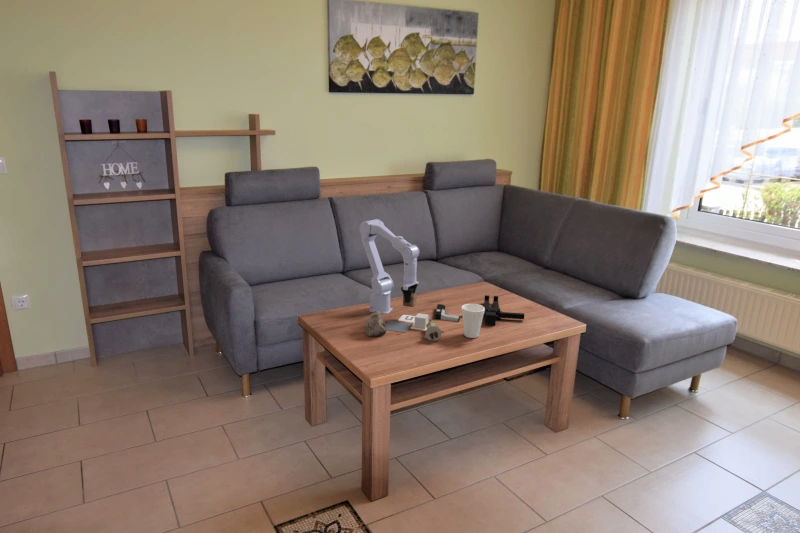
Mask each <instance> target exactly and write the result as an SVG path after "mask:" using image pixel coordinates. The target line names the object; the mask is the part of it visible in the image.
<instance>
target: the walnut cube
mask: <svg viewBox="0 0 800 533" xmlns="http://www.w3.org/2000/svg"><path fill="white" fill-rule="evenodd" d="M417 296H418V293H416V292H415V293H412V295H411V300H410V303H406V302H405V299H404V295H403V294H402V307H409V308H414V307H415V306H416V305H417V299H418V297H417Z"/></svg>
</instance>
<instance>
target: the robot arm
mask: <svg viewBox="0 0 800 533" xmlns="http://www.w3.org/2000/svg"><path fill="white" fill-rule="evenodd" d="M358 230H359V233H360V236H361V243H362V245H363V248H364V250H365V253H366V258H367V259H368V263H369V267H370V269H371V272H372V275H373V276H372V278H371V280H370V282H371V289H372V292H371V293H370V296H369V312H371V313H374V311H375V310H378V311H380V313H381V314H384V315H388V314H390V312H391V311H393V307H391V293H392V290H393V289H394V287H395V284H394V283H395V282H394V281H393V279H392V278H391V276H390V274H389V273H387V272H385V269H384V266H383V263H382V260H381V258H380V257H381V256H380V254H379V251H378V249H377V245H376V242H375V239H376V237H377V236H378V235H380V236H382V237H383V238H385V239H386V240H388V241H389V242H391V246H392V247H393V248H394V249H395V250H396V251H398V252H399V253H400V254H401V256H402V259H403V281H402V284H403V285H402V286H401V287H400V290H401V292H402V296H403V295H404V299H405V302H406V303H410V300H411V295H412V293H416V290H417V288H418V286H419V281H417V267H418V257H419V256H420V254H421V252H420V251H421V250H420V248H419V246H418V245H416V244H412V243H410V242H408V241H407V240H405V239H404V236H400V235H395V234H394V233H393V232H392V231H391V230H390V229H389V228H388V227H387V226H385V224H384V221H382V220H381V219H379V218H375V219H371V220H366V221H365V220H364V221H362V222H361V223H360V224H359V228H358Z"/></svg>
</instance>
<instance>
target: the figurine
mask: <svg viewBox="0 0 800 533" xmlns="http://www.w3.org/2000/svg"><path fill="white" fill-rule="evenodd" d="M437 324H438V323H437V321H436V320H435V321H434V320H433V321H432V318H431V316H429V318H428V323H427V325H426V327H427V330H426V331H425V335H424V337H423V338H424V339H427V340H428V341H439V340H440V339H441V338H442V334H443V333H445V331H444V330H443V329H441V328H440V327H439V326H438V325H437Z"/></svg>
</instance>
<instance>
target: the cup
mask: <svg viewBox="0 0 800 533" xmlns="http://www.w3.org/2000/svg"><path fill="white" fill-rule="evenodd" d="M460 309H461V314H462V325H463V326H462V328H463V335H464V336H465V337H466V338H469V339H476V338H478V337H479V336H480V331H481V327H482V324H483V319H484V317H483V315H484V311H485V307H484V306H483V305H481V304H477V303H465V304H463V305H462V306H461V308H460Z"/></svg>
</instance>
